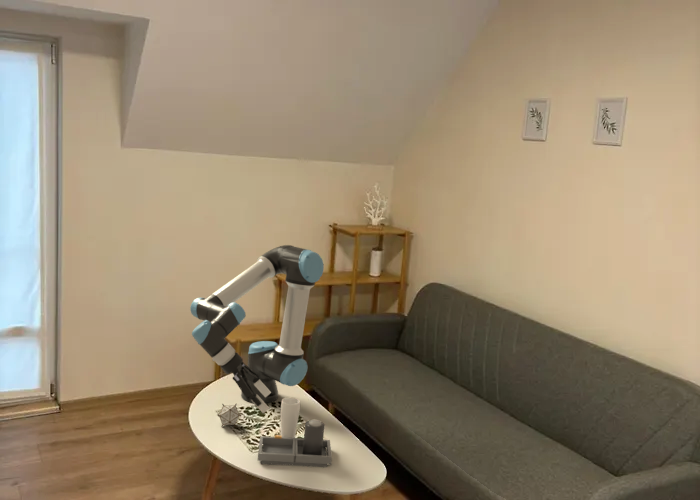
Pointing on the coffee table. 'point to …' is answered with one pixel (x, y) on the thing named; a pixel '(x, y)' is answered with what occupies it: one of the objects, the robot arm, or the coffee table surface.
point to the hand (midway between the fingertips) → (267, 402)
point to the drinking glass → (289, 416)
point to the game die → (229, 415)
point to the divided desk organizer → (297, 448)
